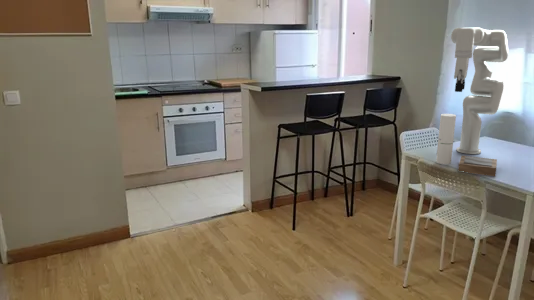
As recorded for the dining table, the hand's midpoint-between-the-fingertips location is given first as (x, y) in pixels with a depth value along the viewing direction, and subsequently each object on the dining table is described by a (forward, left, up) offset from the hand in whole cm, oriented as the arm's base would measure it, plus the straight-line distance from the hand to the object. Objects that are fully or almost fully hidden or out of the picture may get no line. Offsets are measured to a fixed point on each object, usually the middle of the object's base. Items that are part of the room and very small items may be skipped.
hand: (459, 90), depth 204 cm
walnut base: (+4, +12, -38) cm, 40 cm away
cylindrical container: (-1, -4, -38) cm, 38 cm away
